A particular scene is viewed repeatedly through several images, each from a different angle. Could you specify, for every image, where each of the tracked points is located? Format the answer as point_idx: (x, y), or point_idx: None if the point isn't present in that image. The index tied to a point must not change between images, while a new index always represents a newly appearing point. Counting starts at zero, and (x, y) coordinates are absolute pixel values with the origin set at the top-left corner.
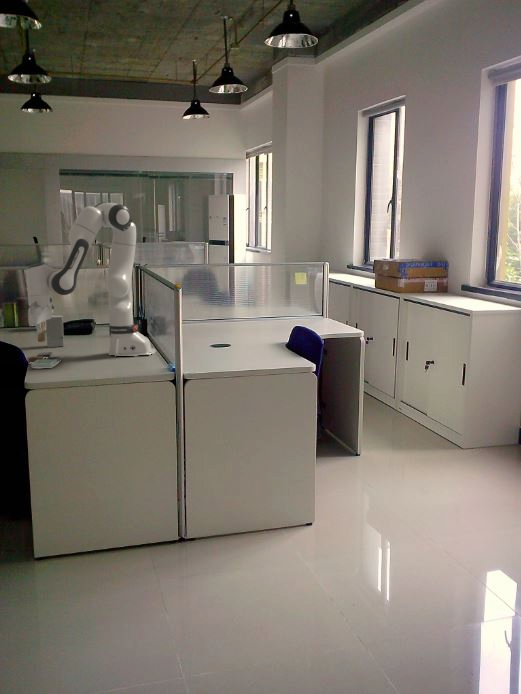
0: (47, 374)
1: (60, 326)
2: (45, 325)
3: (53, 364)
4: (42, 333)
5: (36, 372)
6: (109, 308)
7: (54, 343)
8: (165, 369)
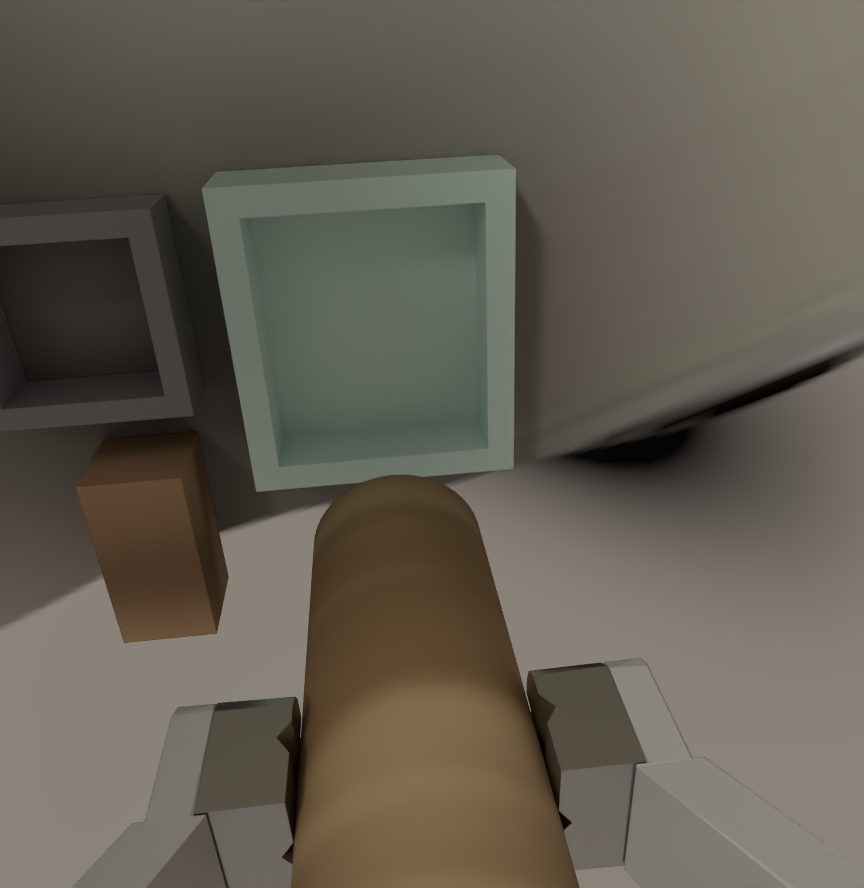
0: (853, 75)
1: None
2: (125, 873)
3: (410, 167)
4: (493, 637)
5: (691, 294)
6: None
7: None
8: None
